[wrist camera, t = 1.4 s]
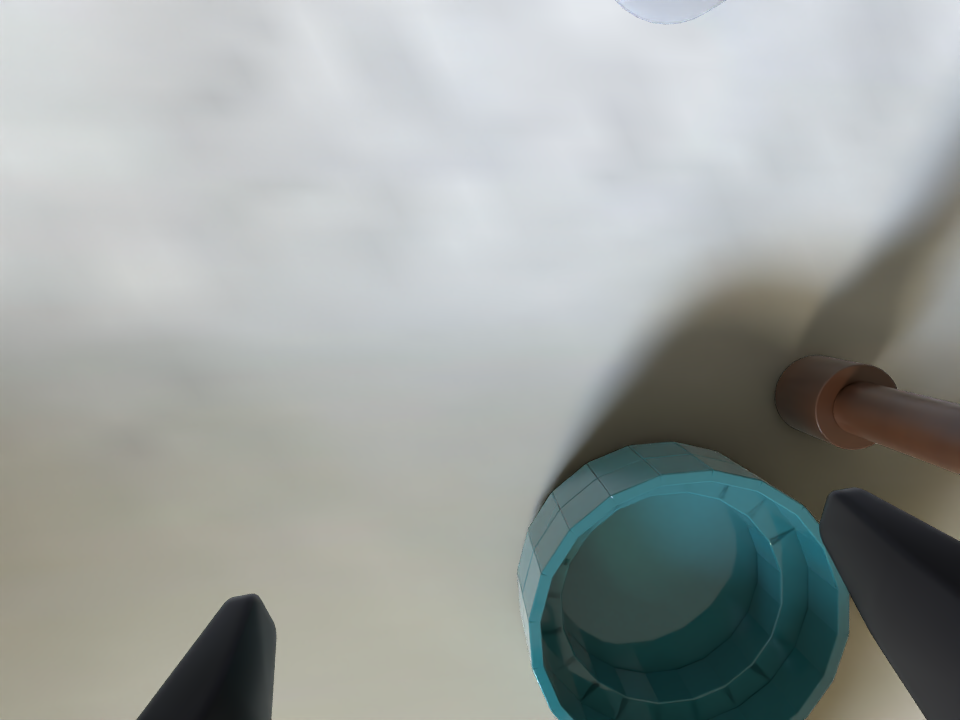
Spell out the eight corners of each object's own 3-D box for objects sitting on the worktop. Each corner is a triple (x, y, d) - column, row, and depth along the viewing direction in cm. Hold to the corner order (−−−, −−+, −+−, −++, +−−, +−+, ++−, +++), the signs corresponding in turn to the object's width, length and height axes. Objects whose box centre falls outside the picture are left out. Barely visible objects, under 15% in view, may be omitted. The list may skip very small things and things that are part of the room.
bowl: (741, 716, 28) (795, 797, 24) (488, 670, 27) (495, 745, 23) (819, 471, 27) (892, 508, 22) (555, 412, 26) (576, 439, 21)
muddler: (836, 438, 27) (1250, 606, 13) (764, 422, 26) (1109, 575, 13) (860, 364, 26) (1315, 456, 12) (787, 347, 26) (1170, 420, 12)
